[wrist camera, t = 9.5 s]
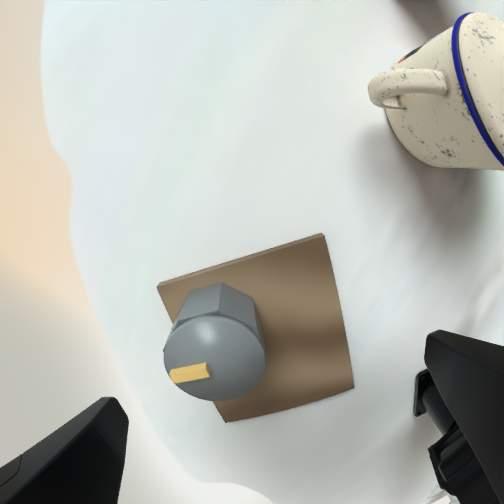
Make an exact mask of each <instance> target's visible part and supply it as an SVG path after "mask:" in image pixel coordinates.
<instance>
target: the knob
mask: <svg viewBox="0 0 504 504" xmlns="http://www.w3.org/2000/svg"><path fill="white" fill-rule="evenodd" d="M163 352H164V365H165V368H166V371H167V373H168V375H169V377H170V378H171V380H172V381H173V383H174V384H176V385H177V386H178V387H179V388H180V389H181V390H183V391H184V392H186V393H188V394H190V395H192V396H194V397H197V398H199V399H203V400H209V401H227V400H232V399H236V398H239V397H241V396H243V395H245V394H247V393H248V392H250V391H251V390H252V389H254V388H255V387H256V386H257V384H258V383H259V382H260V380H261V378H262V376H263V374H264V370H265V363H266V362H267V355H266V349H265V343H264V337H263V331H262V326H261V323H260V319H259V316H258V313H257V310H256V307H255V304H254V301H253V298H252V297H251V296H249V295H247V294H245V293H243V292H240V291H238V290H236V289H234V288H232V287H230V286H228V285H226V284H224V283H222V282H221V283H217V284H214V285H210V286H207V287H203V288H200V289H196V290H192V291H189V293H188V295H187V297H186V299H185V301H184V303H183V305H182V307H181V309H180V311H179V313H178V315H177V317H176V319H175V322H174V324H173V327H172V329H171V332H170V334H169V337H168V339H167V342H166V344H165V347H164V349H163Z"/></svg>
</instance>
